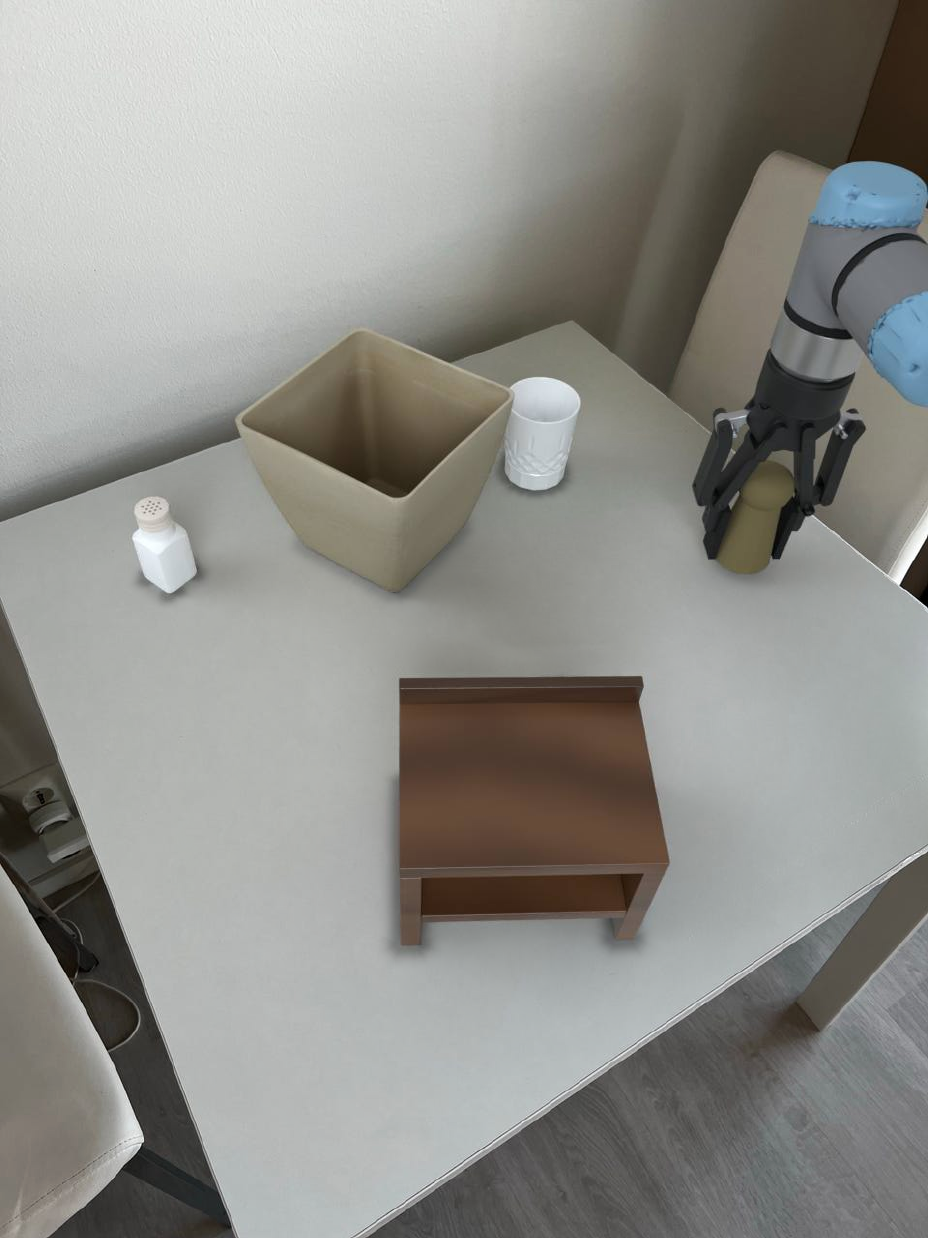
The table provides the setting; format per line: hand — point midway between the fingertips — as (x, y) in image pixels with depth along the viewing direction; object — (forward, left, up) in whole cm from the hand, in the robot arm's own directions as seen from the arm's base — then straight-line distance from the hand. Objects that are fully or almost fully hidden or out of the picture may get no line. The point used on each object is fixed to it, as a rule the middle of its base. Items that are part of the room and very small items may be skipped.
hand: (741, 549), depth 98 cm
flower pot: (+4, +37, -2) cm, 37 cm away
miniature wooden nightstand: (-33, +26, -2) cm, 42 cm away
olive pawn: (0, 0, 0) cm, 1 cm away
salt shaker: (-2, +58, -2) cm, 58 cm away
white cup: (+14, +20, -2) cm, 25 cm away
